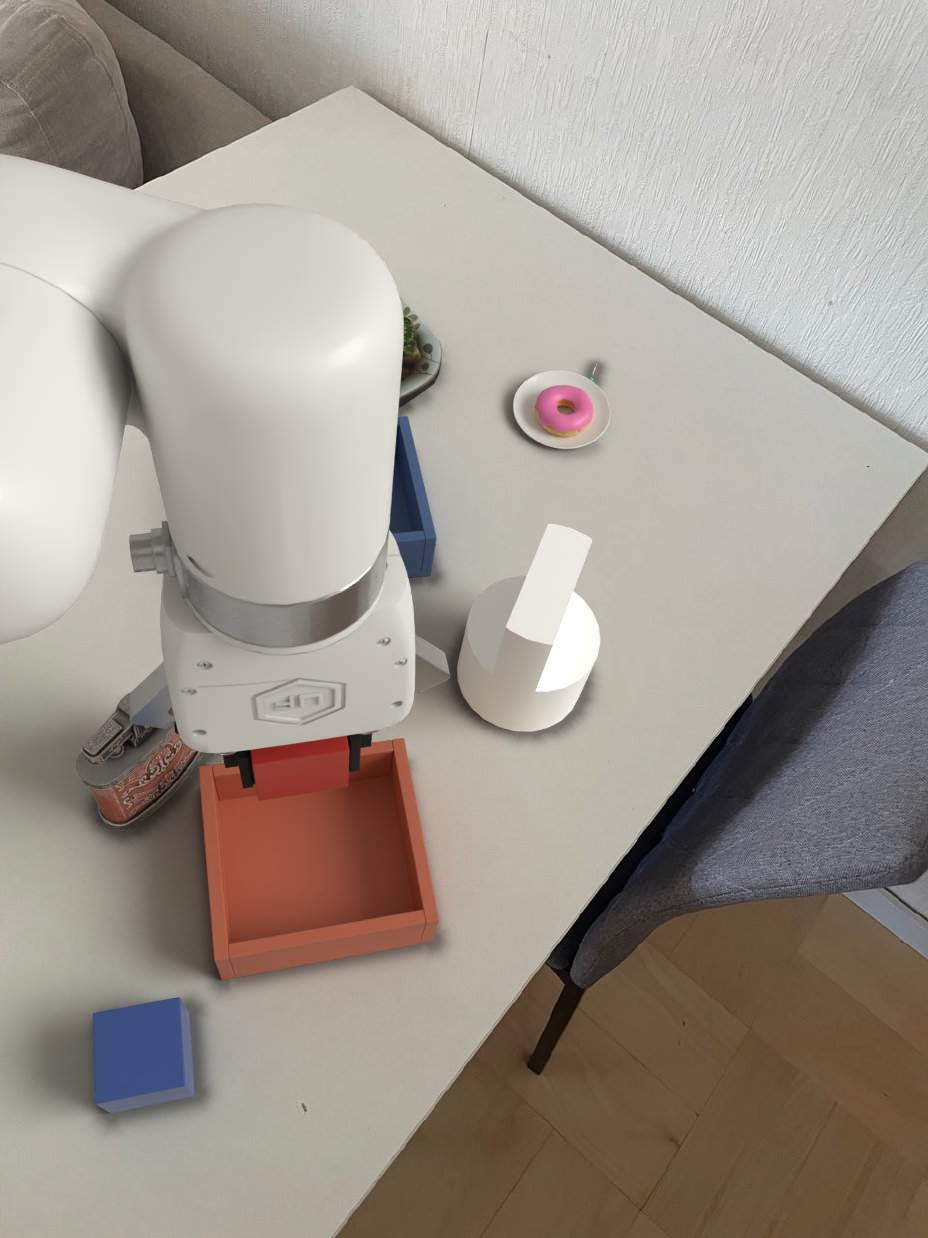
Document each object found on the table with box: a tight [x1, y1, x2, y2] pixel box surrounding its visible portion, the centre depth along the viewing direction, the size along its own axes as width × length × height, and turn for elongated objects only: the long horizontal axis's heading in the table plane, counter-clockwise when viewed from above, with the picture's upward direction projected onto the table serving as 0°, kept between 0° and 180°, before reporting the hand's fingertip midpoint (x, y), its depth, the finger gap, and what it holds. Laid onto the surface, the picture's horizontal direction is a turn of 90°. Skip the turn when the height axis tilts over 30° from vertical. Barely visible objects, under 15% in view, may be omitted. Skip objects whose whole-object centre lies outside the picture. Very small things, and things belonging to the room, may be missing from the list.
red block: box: [251, 736, 349, 801], centre depth 50 cm, size 4×4×4 cm
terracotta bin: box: [198, 737, 440, 981], centre depth 62 cm, size 13×12×5 cm
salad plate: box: [398, 295, 443, 409], centre depth 85 cm, size 19×18×5 cm
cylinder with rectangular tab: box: [456, 523, 601, 733], centre depth 68 cm, size 9×9×12 cm
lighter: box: [75, 691, 205, 832], centre depth 61 cm, size 8×3×10 cm, turn 145°
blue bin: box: [389, 415, 437, 579], centre depth 76 cm, size 13×12×5 cm
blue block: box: [92, 996, 196, 1115], centre depth 55 cm, size 4×4×4 cm
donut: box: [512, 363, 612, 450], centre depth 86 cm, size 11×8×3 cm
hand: (297, 751), depth 52 cm, fingers closed on red block, 4 cm apart
